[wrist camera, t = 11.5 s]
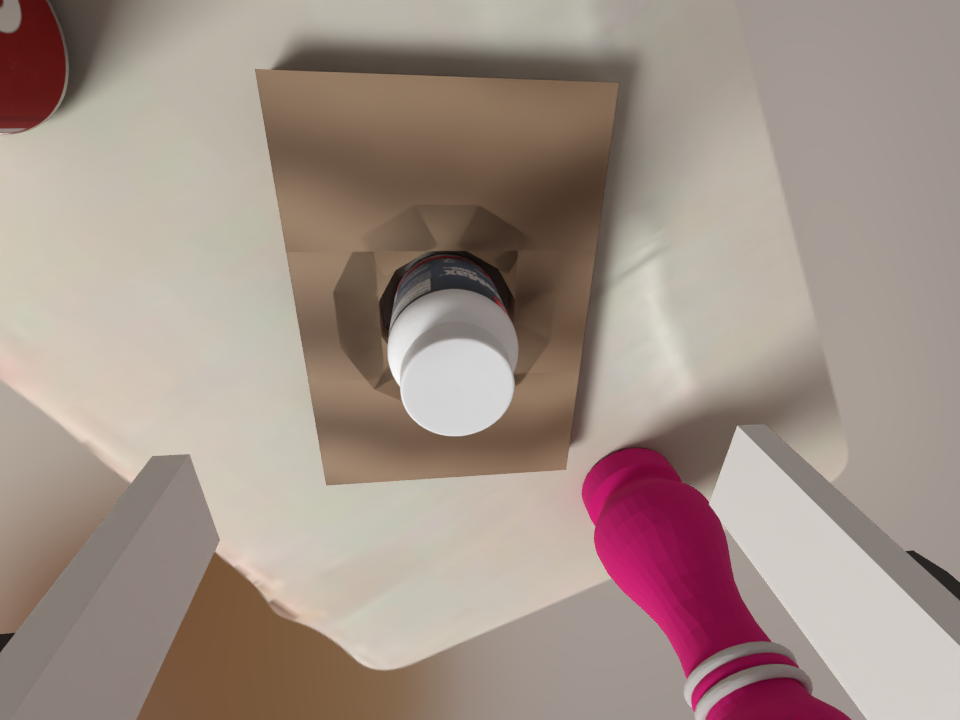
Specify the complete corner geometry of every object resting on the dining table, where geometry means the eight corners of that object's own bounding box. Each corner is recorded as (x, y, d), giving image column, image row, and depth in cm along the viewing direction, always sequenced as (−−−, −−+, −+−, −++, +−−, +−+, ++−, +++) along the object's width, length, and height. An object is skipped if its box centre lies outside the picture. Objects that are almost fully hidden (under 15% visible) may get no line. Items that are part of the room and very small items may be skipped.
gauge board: (267, 73, 18) (255, 69, 17) (604, 85, 20) (619, 82, 18) (330, 466, 27) (326, 485, 26) (558, 452, 29) (565, 469, 28)
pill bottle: (517, 297, 24) (566, 381, 16) (451, 366, 25) (467, 474, 17) (439, 229, 22) (451, 287, 14) (373, 308, 23) (350, 401, 15)
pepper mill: (668, 424, 29) (1058, 890, 11) (684, 501, 32) (1003, 951, 15) (561, 464, 29) (776, 972, 12) (588, 535, 33) (786, 1013, 15)
